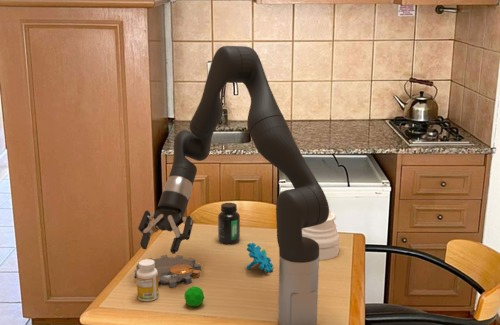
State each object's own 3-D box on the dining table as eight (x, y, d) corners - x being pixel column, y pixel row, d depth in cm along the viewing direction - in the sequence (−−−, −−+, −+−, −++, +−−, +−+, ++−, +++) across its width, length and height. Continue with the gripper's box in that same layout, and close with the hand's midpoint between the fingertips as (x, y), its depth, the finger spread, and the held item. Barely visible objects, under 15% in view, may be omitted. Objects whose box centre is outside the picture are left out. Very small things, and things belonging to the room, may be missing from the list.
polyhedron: (208, 304, 160) (208, 287, 158) (194, 311, 156) (193, 294, 155) (194, 298, 163) (194, 281, 162) (180, 305, 159) (179, 287, 158)
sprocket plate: (207, 283, 171) (206, 277, 171) (138, 291, 167) (137, 285, 166) (194, 256, 188) (194, 251, 188) (132, 263, 184) (131, 257, 183)
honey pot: (338, 261, 186) (340, 203, 181) (294, 258, 188) (295, 200, 183) (339, 244, 198) (341, 189, 193) (297, 242, 200) (299, 187, 195)
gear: (269, 273, 173) (246, 245, 174) (254, 286, 175) (230, 258, 176) (279, 263, 184) (256, 236, 185) (264, 275, 186) (242, 249, 187)
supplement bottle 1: (149, 290, 167) (147, 256, 165) (163, 296, 164) (161, 261, 161) (133, 297, 163) (131, 262, 161) (147, 304, 160) (145, 268, 157)
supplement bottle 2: (239, 244, 197) (239, 208, 194) (217, 244, 197) (217, 208, 194) (240, 236, 204) (239, 201, 201) (218, 236, 204) (218, 201, 201)
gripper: (147, 187, 173) (128, 241, 166) (195, 192, 169) (178, 248, 161) (157, 199, 179) (139, 252, 172) (203, 205, 175) (187, 259, 167)
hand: (157, 250), depth 167 cm, fingers open, 8 cm apart
